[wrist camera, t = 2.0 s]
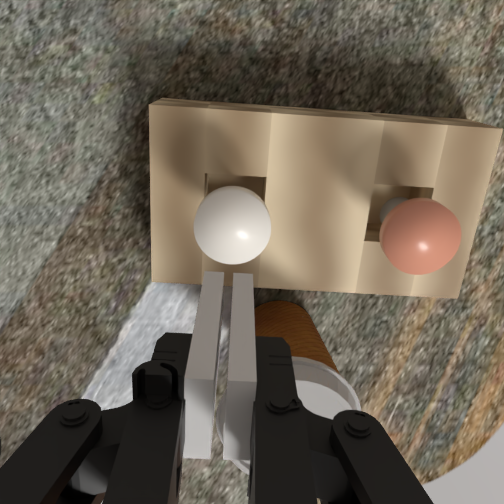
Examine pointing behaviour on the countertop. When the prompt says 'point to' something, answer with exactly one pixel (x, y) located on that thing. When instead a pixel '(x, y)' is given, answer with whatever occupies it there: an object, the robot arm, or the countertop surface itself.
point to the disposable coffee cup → (300, 365)
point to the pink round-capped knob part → (418, 234)
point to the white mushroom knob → (232, 225)
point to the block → (313, 190)
